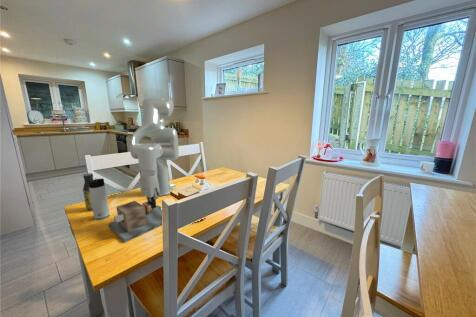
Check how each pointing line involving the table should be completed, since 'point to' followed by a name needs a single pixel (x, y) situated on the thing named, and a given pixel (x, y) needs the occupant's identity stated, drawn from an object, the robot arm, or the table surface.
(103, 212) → the travel mug
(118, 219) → the shaft
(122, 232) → the housing
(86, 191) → the sauce bottle
